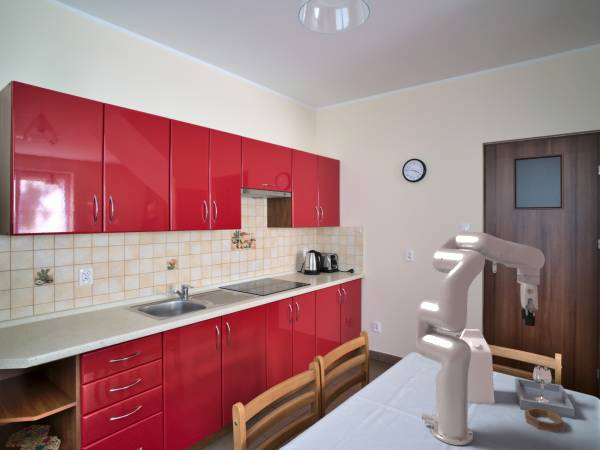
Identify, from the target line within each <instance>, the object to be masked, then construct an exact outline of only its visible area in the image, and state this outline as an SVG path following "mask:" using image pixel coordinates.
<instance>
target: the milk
mask: <svg viewBox="0 0 600 450" xmlns="http://www.w3.org/2000/svg"><path fill="white" fill-rule="evenodd" d="M459 338H460V339H462V340H464V341H466V342H467V343H468V344H469V346H470V348H471V359H470V364H469V369H468V404H469V403H470V404H471V403H472V404H491V405H492V404H493V405H494V404H495V392H494V391H495V387H494V368H493V354H492V351H491V349H490V346H489V344H488V342H487V341H486V339H485V336H484V334H483V333H482V331H481V329H476V328H474V329H473V328H471V329H470V328H465V329H464V331H462V332H461V336H460V337H459Z"/></svg>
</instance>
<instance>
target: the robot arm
mask: <svg viewBox="0 0 600 450" xmlns="http://www.w3.org/2000/svg"><path fill="white" fill-rule="evenodd" d="M431 258H432V259H431V262H432V267H433V268H434V269H435V270H436V271H437V272H440V273H442V274H443V273H444V274H446V275H445V277H444V278H442V281H441V282H440V284H439V289H438V290H439V291H438V292H439V293H438V298H435V297H434V298H433V297H426V298H425V299H422V300H421V302H420V303H419V305H418V307H417V310H416V324H415V325H416V328H415V329H416V333H415V346H416V350H417V351H418V354H419V355H421V356H422V357H424V358H426V359H428V360H430V361H434V362H436V363H438V364H441V366H442V367H441V368H440V369H439V371H438V372H437V374H436V377H435V413H434V414H432V415H430V414H428V413H427V414H426V413H422V414H421V420H422V421H424V424H426V425H430V432H431V434H432V435H433V436H434V437H435V438H436V439H438V440H439V441H442V442H444V443H445V444H450V445H456V446H464V445H469V444H470V443H472V442H473V440H474V433H473V431H472V430H471V429H470V428H469V426H468V424H469V423H468V421H469V418H468V415H469V413H468V412H469V411H468V410H469V409H468V407H469V405H468V404H469V403H468V369H469V364H470V359H471V348H470V346H469V344H468V343H467V342H466V341H464V340H462V339H460V337H458V336H455V335H451V334H449V333H453V334H454V333H455V334H460V333H462V332H463V331H464V329H466V327H467V322H468V319H467V318H468V297H469V296H468V295H469V289H470V286H471V284H472V283H473V282H474V280H475V279H476V278H477V277H478V276H479V275H480V273H481V272H482V271H483V270H484V268H485V265H486V260H487V261H491V262H493V263H498V264H503V265H504V266H505V267H507V268H512V269H513V268H514V269H516V270H517V271H516V278H517V279H516V283H518V284H520V304H521V319H522V320H524V325H525V326H526V327H535V326H536V315H535V311H538V310H539V302H538V301H539V297H538V296H539V294H538V285H541V284H540V281H541V280H540V278H541V277H540V276H541V274H540V273H541V272H540V271H541V269H542V268H543V267H544V265H545V262H546V258H545V255H544V253H543V252H542V250H540V249H539V248H536V247H534V246H531V245H526V244H521V243H518V242H517V243H516V242H513V241H509V240H505V239H502V238H499V237H497V236H493V235H492V234H489V233H486V232H481V231H480V232H477V231H460V232H459V231H458V232H457V233H454V234H453V235H451V236H450V237H449V238H447V240H445V241H444V243H442V244H441V245H440V246H438V248H437V249H436V250H435V251H434V253H433V255H432V257H431ZM438 329H439V330H441V331H446V332H448V333H443V332H441V331H438Z"/></svg>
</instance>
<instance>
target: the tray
mask: <svg viewBox="0 0 600 450" xmlns="http://www.w3.org/2000/svg"><path fill="white" fill-rule="evenodd" d="M543 387H544V390H543V397H544V398H547V399H548V400H549V402H548V403H544V402H540V401H537V400H536V399H535V398H536V397H541V395H542V391H541V385H539V384H537V383H536V382H535V381H534V380H530V379H526V378H525V379H524V378H517V377H515V378H514V388H515V391H516V396H517V400H518V404H519V407H520V410H523V411H525V409H527V408H532V407H537V408H543V409H548V410H550V411H552V412H554V413H556V414H558V415H560V416H561V417H562V418H566V419H571V420H575V407H574V406H573V404H572V402H571V399H570V398H569V396H568V394H567V392H566V391H565V389H564V387H563V385H562V384H556V383H552V382H551V383H550V384H549V385H546V386H543Z"/></svg>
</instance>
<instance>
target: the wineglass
mask: <svg viewBox="0 0 600 450" xmlns="http://www.w3.org/2000/svg"><path fill="white" fill-rule="evenodd" d="M532 373H533V374H532V377H533V378H532V379H533V381H535V382H536V383H537V384H539V385H541V391H542V395H541V397H536V398H535V399H536V400H537V401H540V402H544V403H548V402H549V400H548V399H547V398H544V397H543V390H544V387H543V386H546V385H549V384H550V383H551V384H552V373H551V370H550V368H549V367H546V366H543V365H535V366H534V368H533V372H532Z"/></svg>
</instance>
